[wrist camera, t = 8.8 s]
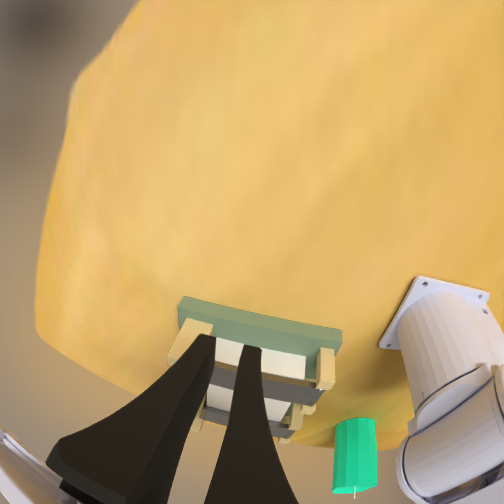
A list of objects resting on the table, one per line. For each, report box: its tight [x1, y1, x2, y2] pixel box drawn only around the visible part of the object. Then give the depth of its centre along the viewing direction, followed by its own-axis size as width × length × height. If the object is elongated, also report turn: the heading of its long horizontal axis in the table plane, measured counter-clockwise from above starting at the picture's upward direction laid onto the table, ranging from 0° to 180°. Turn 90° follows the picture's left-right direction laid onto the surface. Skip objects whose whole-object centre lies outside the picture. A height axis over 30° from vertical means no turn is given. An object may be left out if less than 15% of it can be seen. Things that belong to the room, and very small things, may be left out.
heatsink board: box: [167, 296, 343, 444], centre depth 24 cm, size 14×17×6 cm
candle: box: [332, 418, 377, 499], centre depth 26 cm, size 6×6×12 cm
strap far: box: [199, 405, 295, 439], centre depth 25 cm, size 11×3×1 cm, turn 81°
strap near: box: [209, 361, 324, 407], centre depth 21 cm, size 11×3×1 cm, turn 81°
